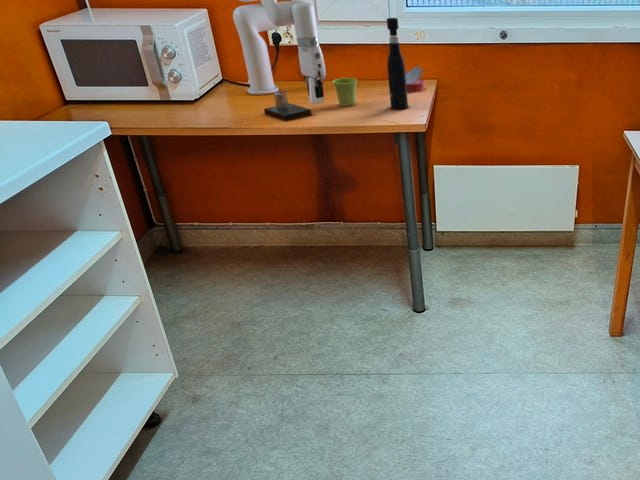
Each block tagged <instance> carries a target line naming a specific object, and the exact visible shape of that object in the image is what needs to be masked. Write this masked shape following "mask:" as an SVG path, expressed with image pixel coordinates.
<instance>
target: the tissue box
mask: <svg viewBox="0 0 640 480" xmlns="http://www.w3.org/2000/svg"><path fill="white" fill-rule="evenodd" d="M422 68H423V67H422V66H416V67H413V68H411V69H409V70H408V71H407V72H405V74H406V87H407V93H418V92H422V91H424V90H425V81H424V80H423V79H420V78H421V76H422V73H423V69H422Z"/></svg>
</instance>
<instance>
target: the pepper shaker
mask: <svg viewBox="0 0 640 480" xmlns="http://www.w3.org/2000/svg"><path fill="white" fill-rule="evenodd" d="M317 81H318V79H317ZM314 87H315V83H314V79H313V77H310V78H309V93H308V95H309V94H310V96H309V103H310V104H312V105H320V104H323V103H325V102H326V101H325V96H324V97H321V98H316V94H315V88H314Z"/></svg>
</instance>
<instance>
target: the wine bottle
mask: <svg viewBox="0 0 640 480" xmlns="http://www.w3.org/2000/svg"><path fill="white" fill-rule="evenodd" d="M386 26H387V30H388V31H389V38H388V39H389V43H388V47H389V53H388V58H387V78H388V88H389V100H390V108H391V110H394V111H403V110H407V109H408V108H409V103H408V92H407V87H406V65H405V61H404V57H403V55H402V53H401V49H400V48H401V46H400V42H399V41H400V40H399V37H398V30H399V19H398V17H388V18H386Z"/></svg>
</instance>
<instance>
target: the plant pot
mask: <svg viewBox="0 0 640 480" xmlns="http://www.w3.org/2000/svg"><path fill="white" fill-rule="evenodd" d="M331 82H332V84H333V87H334V88H335V91H336V97H337V100H338V103H339V106H341V107H350V106H355V105H356V103H357V102H356V100H357V98H356V96H357V94H356V93H357V82H358V79H357V78H352V77H340V78H336V79H333V80H332V81H331Z"/></svg>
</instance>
